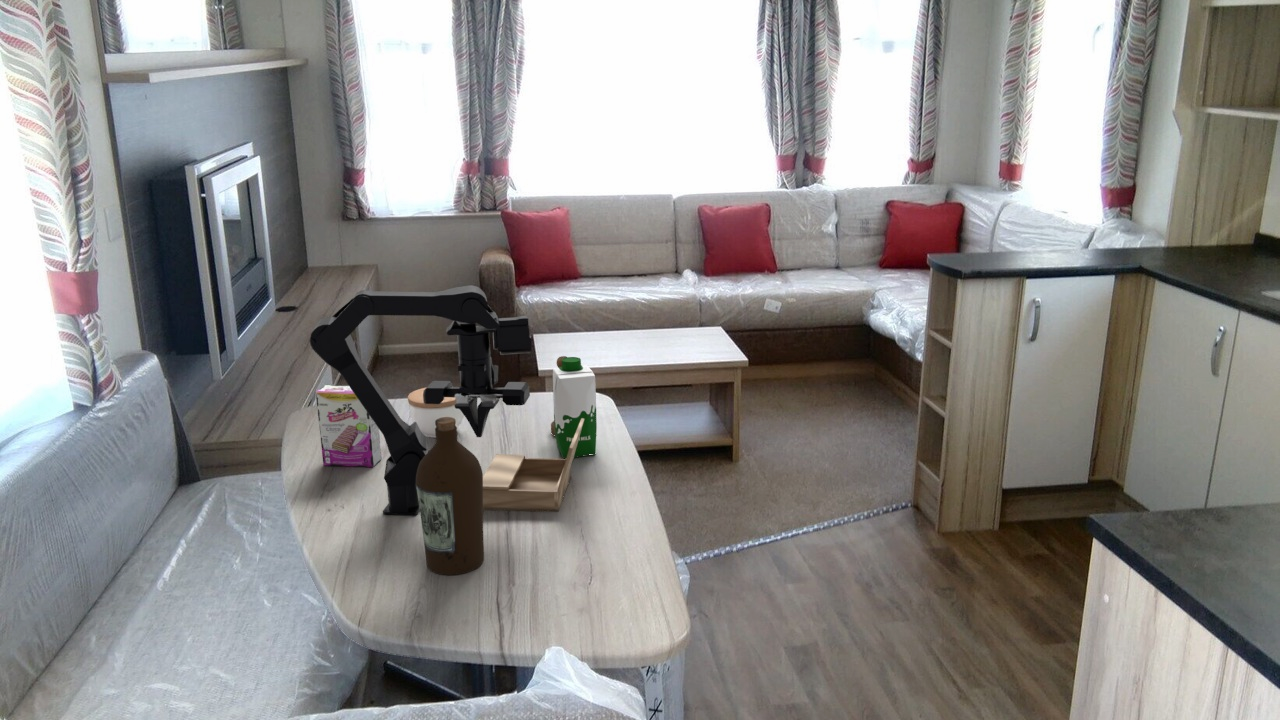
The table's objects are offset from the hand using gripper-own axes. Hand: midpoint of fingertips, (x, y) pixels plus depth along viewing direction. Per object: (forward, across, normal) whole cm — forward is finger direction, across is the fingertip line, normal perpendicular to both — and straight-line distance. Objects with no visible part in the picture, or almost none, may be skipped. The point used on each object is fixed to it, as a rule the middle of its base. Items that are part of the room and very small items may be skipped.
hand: (479, 436), depth 177 cm
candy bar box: (+13, +32, -17) cm, 39 cm away
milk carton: (+13, -14, -26) cm, 32 cm away
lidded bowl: (+13, +19, -36) cm, 43 cm away
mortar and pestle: (+13, -10, -37) cm, 41 cm away
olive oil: (+13, -1, +24) cm, 27 cm away
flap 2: (+5, -16, -4) cm, 17 cm away
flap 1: (+9, -3, -4) cm, 10 cm away
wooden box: (+13, -8, -4) cm, 16 cm away
